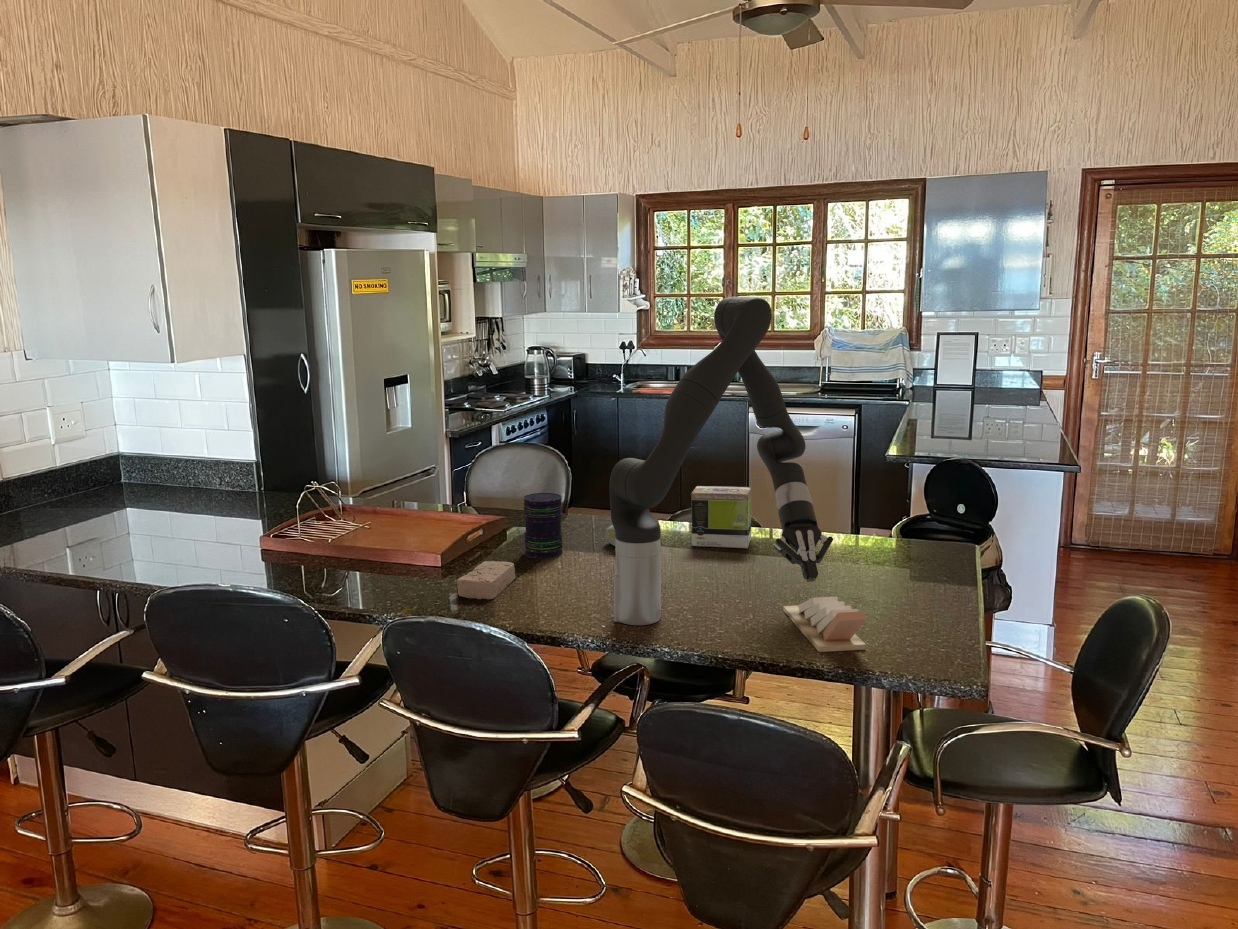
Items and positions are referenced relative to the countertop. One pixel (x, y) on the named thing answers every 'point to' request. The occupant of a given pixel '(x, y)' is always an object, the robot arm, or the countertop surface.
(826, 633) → the tile
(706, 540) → the tea box
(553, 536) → the storage jar
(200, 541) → the countertop surface
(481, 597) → the brick
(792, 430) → the robot arm
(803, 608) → the tile
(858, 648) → the domino board
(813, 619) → the tile
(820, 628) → the tile
